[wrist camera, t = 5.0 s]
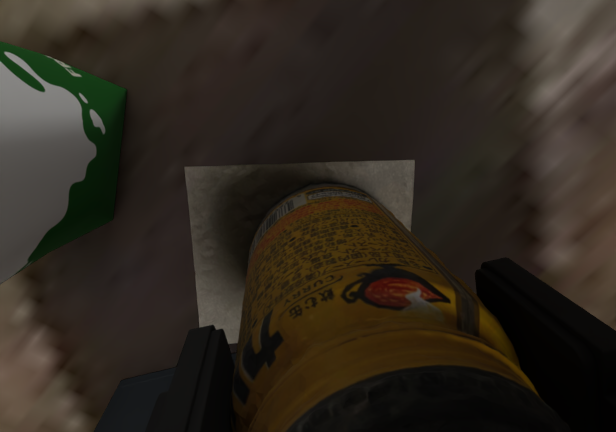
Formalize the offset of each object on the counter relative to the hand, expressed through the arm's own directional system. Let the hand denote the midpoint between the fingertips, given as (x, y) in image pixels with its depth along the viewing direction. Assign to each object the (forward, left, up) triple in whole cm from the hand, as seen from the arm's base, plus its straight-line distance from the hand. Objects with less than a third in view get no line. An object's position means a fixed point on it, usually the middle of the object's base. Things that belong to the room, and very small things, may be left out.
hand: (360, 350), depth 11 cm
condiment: (0, -1, -7) cm, 7 cm away
